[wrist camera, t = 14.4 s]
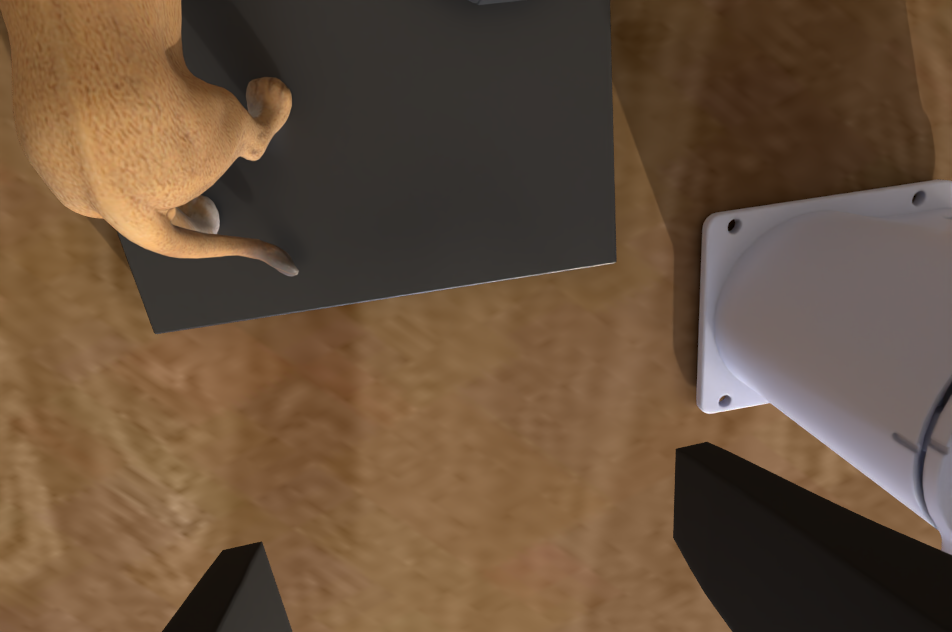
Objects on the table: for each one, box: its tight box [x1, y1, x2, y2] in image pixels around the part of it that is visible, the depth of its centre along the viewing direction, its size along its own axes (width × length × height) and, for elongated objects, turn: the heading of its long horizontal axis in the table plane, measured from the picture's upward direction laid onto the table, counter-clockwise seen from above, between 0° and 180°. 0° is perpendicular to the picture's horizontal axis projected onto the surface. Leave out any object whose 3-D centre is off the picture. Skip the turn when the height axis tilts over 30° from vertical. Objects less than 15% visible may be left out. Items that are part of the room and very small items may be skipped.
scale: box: [117, 0, 616, 334], centre depth 14 cm, size 15×14×3 cm
